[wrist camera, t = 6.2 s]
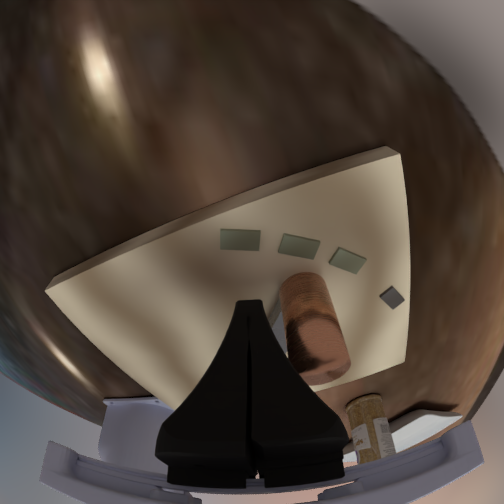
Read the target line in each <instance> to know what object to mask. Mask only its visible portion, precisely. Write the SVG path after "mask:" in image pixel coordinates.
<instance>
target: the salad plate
mask: <svg viewBox="0 0 504 504" xmlns="http://www.w3.org/2000/svg"><path fill="white" fill-rule="evenodd" d="M461 417H462V415H461V414H459V413H456V412H443V411H431V410H424V409H419V410H415V411H412V412H409V413H407V414H405V415H403V416H401V417H400V418H398V419H396V420H394V421H392V422H390V423H389V427H390V431H391V434H392V438H393V442H394V446H395V450H396V453H397V452H400V451H402V450H404V449H407V448H409V447H411V446H413V445H415V444H417V443H419V442H421V441H423V440H425V439H427V438H429V437H431V436H432V435H434V434H436V433H438V432H439V431H441V430H442V429H444V428H446V427H447V426H449V425H450V424H452V423H454V422H455V421H457V420H458V419H460V418H461ZM343 455H344V459H342V460H343V462H354V461H357V457H356V452H355V448H354V443H353V441H352V442H350V443H348V444H347V445H346V446H345V447H344V448H343Z"/></svg>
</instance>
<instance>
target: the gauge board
mask: <svg viewBox="0 0 504 504" xmlns="http://www.w3.org/2000/svg"><path fill="white" fill-rule="evenodd" d="M301 272H312V273H316V274H318V275H320V276H321V277H322V278H323V279H324V280H325V282H326V285H327V288H328V291H329V294H330V297H331V300H332V303H333V306H334V309H335V312H336V315H337V318H338V321H339V324H340V327H341V330H342V334H343V337H344V340H345V343H346V347H347V350H348V353H349V357H350V360H351V366H350V368H349V370H348V371H347V372H346V373H345V374H344V375H343V376H341V377H340V378H338V379H336V380H334V381H332V382H329V383H326V384H322V385H315V386H309V387H310V388H311V389H312V390H313V391H314V392H315V391H319V390H323V389H327V388H330V387H334V386H337V385H340V384H344V383H347V382H350V381H353V380H356V379H359V378H362V377H365V376H368V375H371V374H374V373H376V372H379V371H382V370H385V369H387V368H390V367H392V366H395V365H398V364H400V363H402V362H405V354H406V345H407V334H408V322H409V305H410V241H409V224H408V211H407V201H406V192H405V183H404V176H403V169H402V163H401V156H400V154H399V153H398V152H396V151H394V150H392V149H391V148H389V147H387V146H383V147H380V148H376V149H373V150H369V151H366V152H362V153H359V154H356V155H352V156H349V157H346V158H342V159H339V160H336V161H333V162H330V163H327V164H323V165H320V166H317V167H314V168H311V169H308V170H305V171H302V172H299V173H296V174H293V175H291V176H288V177H285V178H282V179H279V180H276V181H273V182H271V183H268V184H265V185H262V186H260V187H257V188H254V189H251V190H249V191H246V192H243V193H241V194H238V195H235V196H233V197H230V198H228V199H225V200H223V201H220V202H217V203H215V204H212V205H210V206H207V207H205V208H202V209H200V210H197V211H195V212H193V213H190V214H188V215H185V216H183V217H181V218H178V219H176V220H173V221H171V222H169V223H166V224H164V225H162V226H160V227H157V228H155V229H153V230H150V231H148V232H146V233H144V234H141V235H139V236H137V237H135V238H133V239H130V240H128V241H126V242H124V243H122V244H120V245H117V246H115V247H113V248H111V249H109V250H107V251H105V252H103V253H101V254H99V255H97V256H95V257H92V258H90V259H88V260H86V261H84V262H82V263H80V264H78V265H76V266H74V267H72V268H71V269H69V270H67V271H65V272H63V273H61V274H59V275H57V276H55V277H54V278H53V279H52V281H51V282H50V284H49V285H48V287H47V288H46V290H45V292H46V293H47V294H48V295H49V297H50V298H51V299H52V300H53V301H54V302H55V304H56V305H57V306H58V307H59V308H60V309H61V310H62V312H63V313H64V314H65V315H66V316H67V317H68V318H69V319H70V320H71V321H72V322H73V323H74V325H75V326H76V327H77V328H78V329H79V330H80V331H81V332H82V333H83V334H84V335H85V336H86V337H87V338H88V339H89V340H90V341H91V342H92V343H93V344H94V345H95V346H96V347H97V348H98V349H100V350H101V351H102V352H103V353H104V354H105V355H106V356H107V357H108V358H109V359H110V360H112V361H113V362H114V363H115V364H116V365H117V366H118V367H119V368H121V369H122V370H123V371H124V372H125V373H127V374H128V375H129V376H130V377H131V378H133V379H134V380H135V381H136V382H137V383H139V384H140V385H141V386H142V387H144V388H145V389H146V390H148V391H149V392H150V393H152V394H153V395H154V396H155V397H157V398H158V399H160V400H161V401H162V402H164V403H165V404H166V405H168V406H169V407H171V408H172V409H173V410H176V409H177V408H178V407H179V406H180V405H181V404H182V402H183V401H184V400H185V399H186V398H187V396H188V395H189V394H190V393H191V392H192V390H193V389H194V388H195V386H196V385H197V384H198V382H199V381H200V379H201V378H202V377H203V375H204V374H205V372H206V371H207V369H208V367H209V366H210V364H211V362H212V361H213V359H214V357H215V355H216V353H217V351H218V349H219V347H220V345H221V343H222V341H223V339H224V337H225V334H226V332H227V329H228V327H229V324H230V322H231V319H232V316H233V313H234V309H235V304H236V302H237V301H238V300H254V299H260V300H262V301H263V307H264V310H265V313H266V316H267V319H269V317H270V315H271V313H272V311H273V309H274V307H275V305H276V303H277V301H278V299H279V297H280V295H279V290H280V287H281V285H282V284H283V282H284V281H285V280H286V279H287V278H289V277H290V276H292V275H294V274H297V273H301ZM286 356H287V358H288V353H287V352H286Z"/></svg>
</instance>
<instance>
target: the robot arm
mask: <svg viewBox="0 0 504 504" xmlns="http://www.w3.org/2000/svg"><path fill="white" fill-rule="evenodd" d="M103 402H104V403H105V404H106V405H107V410H106V414H105V418H104V422H103V426H102V430H101V435H100V439H99V444H98V450H99V455H100V458H101V460H102V461H100V460H96V459H93V458H89V457H86V456H83V455H80V454H78V453H76V452H75V451H74V450H72V449H70V448H68V447H65V446H63V445H60V444H57V443H55V442H52V441H49V442H48V445H47V449H46V453H45V457H44V461H43V466H42V470H41V475H40V480H39V481H40V483H42V484H44V485H46V486H48V487H50V488H52V489H54V490H56V491H58V492H60V493H62V494H64V495H66V496H68V497H70V498H73V499H75V500H77V501H80V502H82V503H84V504H202V500H201V499H199V498H194V497H192V495H191V494H190V493H189V492H197V493H210V494H268V493H282V492H292V491H301V490H308V489H315V488H322V487H327V486H333V485H338V484H342V483H347V482H351V481H354V482H353V483H350V484H346V485H343V486H339V487H335V488H330V489H326V490H324V491H323V493H320V494H318V501H312V502H305V503H296V504H409V503H411V502H413V501H416V500H418V499H420V498H422V497H424V496H426V495H428V494H431V493H433V492H434V491H437V490H438V489H440V488H442V487H444V486H446V485H448V484H450V483H451V482H453V481H455V480H457V479H459V478H460V477H462V476H464V475H466V474H467V473H469V472H471V471H472V470H474V469H475V468H477V467H479V466H480V465H482V464H483V463H484V459H483V455H482V452H481V449H480V446H479V443H478V440H477V437H476V434H475V431H474V428H473V426H472V423H471V421H470V420H468V421H466V422H464V423H462V424H460V425H458V426H456V427H454V428H452V429H450V430H449V431H447V432H446V433H444V434H443V435H442V436H441V437H439V438H437V439H435V440H432V441H430V442H427V443H425V444H422V445H420V446H417V447H415V448H412V449H409V450H406V451H403V452H400V453H397V454H394V455H391V456H388V457H385V458H381V459H378V460H374V461H371V462H367V463H363V464H359V465H355V466H350V467H346V468H344V466H343V460H342V459H344V455H343V448H344V447H345V446H346V445H347V444H348V442H349V437H348V434H347V431H346V429H345V427H344V425H343V423H342V421H341V419H340V417H339V416H338V415H337V414H336V413H335V412H334V411H333V410H332V409H330V408H329V407H328V406H327V405H326V404H325V403H324V402H323V401H322V400H321V399H320V398H319V397H318V396H317V395H316V394H315V392H314V391H313V390H312V389H311V388H310V387H309V385H308V384H307V383H306V382H305V381H304V380H303V378H302V377H301V376H300V375H299V373H298V372H297V371H296V369H295V368H294V366H293V365H292V364H291V362H290V361H289V359H288V358H287V356H286V354H285V353H284V351H283V349H282V348H281V346H280V344H279V342H278V340H277V339H276V337H275V335H274V332H273V330H272V328H271V326H270V324H269V321H268V319H267V316H266V313H265V310H264V307H263V301H262V300H260V299H254V300H238V301H237V302H236V304H235V309H234V313H233V316H232V319H231V322H230V324H229V327H228V329H227V332H226V334H225V337H224V339H223V341H222V343H221V345H220V347H219V349H218V351H217V353H216V355H215V357H214V359H213V361H212V362H211V364H210V366H209V367H208V369H207V371H206V372H205V374H204V375H203V377H202V378H201V379H200V381H199V382H198V384H197V385H196V386H195V388H194V389H193V390H192V392H191V393H190V394H189V395H188V396H187V398H186V399H185V400H184V401H183V402H182V404H181V405H180V406H179V407H178V408H177V409H176V410H173V409H172V408H171V407H169V406H168V405H166V404H165V403H164V402H162V401H161V400H160V399H158V398H157V397H143V398H123V399H104V400H103ZM257 470H258V471H257ZM258 473H259V478H260V479H256V478H255V476H256V475H257V474H258Z"/></svg>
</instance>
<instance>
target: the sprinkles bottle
mask: <svg viewBox="0 0 504 504" xmlns="http://www.w3.org/2000/svg"><path fill="white" fill-rule="evenodd" d="M346 412H347V414H348V418H349V422H350V426H351V434H352V438H353V443H354V448H355V452H356V457H357V463H358V465H359V464H363V463H367V462H371V461H374V460H378V459H381V458H385V457H388V456H391V455H394V454H396V450H395V446H394V442H393V438H392V434H391V431H390V427H389V424H388V420H387V418H386V416H385V413H384V409H383V405H382V398H381V396H380V395H376V394H371V395H366V396H363V397H359V398H357V399H355V400H354V401H352V402H351V403H349V404H348V405H347V407H346Z"/></svg>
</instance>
